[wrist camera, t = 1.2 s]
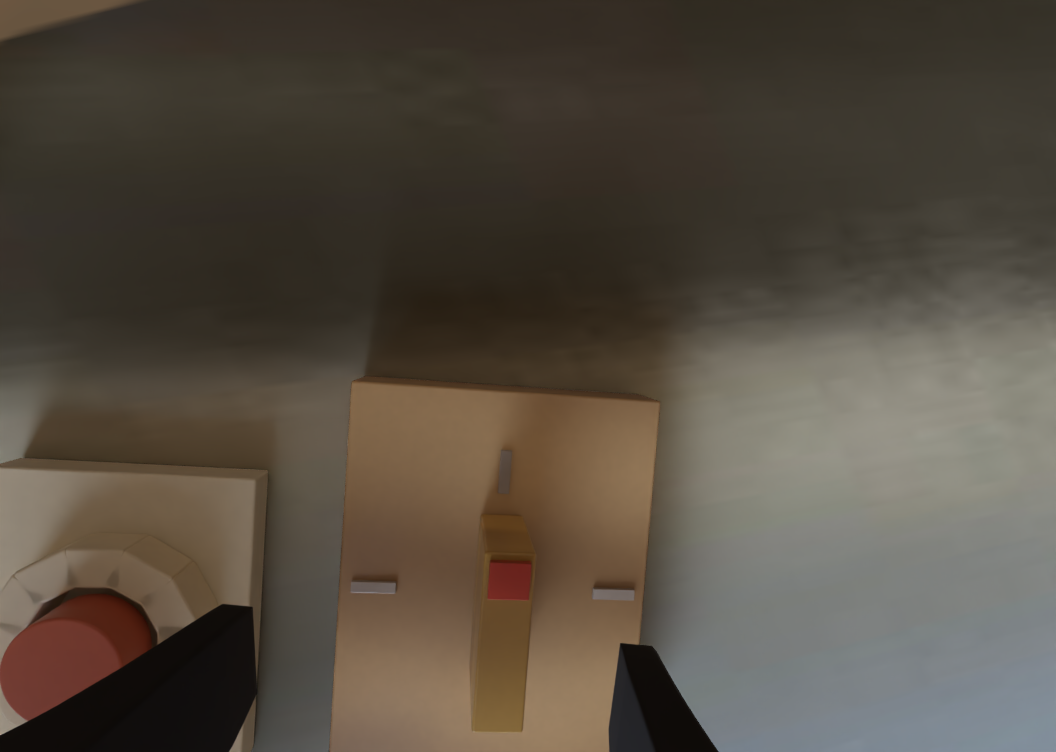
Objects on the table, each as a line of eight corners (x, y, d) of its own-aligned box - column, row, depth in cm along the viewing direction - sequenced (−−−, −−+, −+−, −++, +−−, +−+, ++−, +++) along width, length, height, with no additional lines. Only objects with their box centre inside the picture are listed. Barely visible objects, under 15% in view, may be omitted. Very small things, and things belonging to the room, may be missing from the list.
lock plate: (610, 733, 24) (629, 783, 21) (341, 733, 23) (325, 785, 20) (639, 394, 23) (663, 401, 20) (363, 375, 22) (350, 380, 19)
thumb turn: (511, 665, 20) (523, 739, 17) (469, 664, 20) (471, 739, 17) (523, 515, 20) (538, 556, 16) (480, 513, 20) (484, 554, 16)
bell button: (150, 695, 19) (119, 731, 17) (38, 694, 19) (-5, 730, 17) (155, 594, 19) (124, 619, 17) (42, 590, 19) (-1, 617, 17)
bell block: (254, 746, 22) (222, 809, 19) (11, 746, 21) (-62, 812, 18) (269, 469, 22) (238, 490, 19) (20, 457, 21) (-53, 477, 18)
